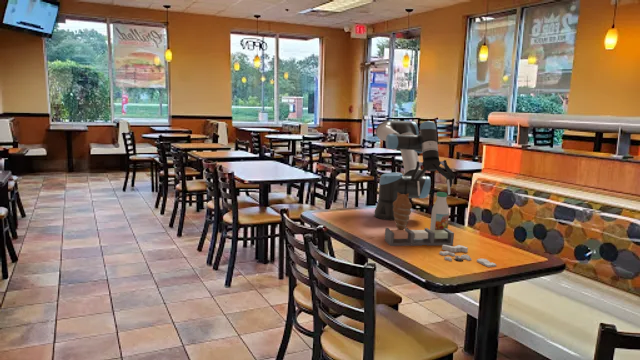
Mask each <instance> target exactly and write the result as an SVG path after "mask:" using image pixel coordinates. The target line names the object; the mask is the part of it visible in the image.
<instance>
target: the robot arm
mask: <svg viewBox="0 0 640 360" xmlns="http://www.w3.org/2000/svg"><path fill="white" fill-rule="evenodd" d="M375 135H376V136H377V138H378V139H379V140H381V141H384V142H385V147H386V149H387V150H388V149H389V150H392V151H393V150H400V154H401V158H402V164H403V168H404V169H403V170H404V173H402V172H396V171H395V172H386V173H383V174H381V175H380V176H379V182H378V184H379V187H378V201H377V204H376V207H375V209H374V212H373V213H374V214H373V215H374V217H375V218H376V219H377V218H378V219H380V220H385V221H386V220H387V221H395V217H394V211H393V207H394V206H393V202H394V201H395V200H396V199H397V197H398V195H397V193H400V194H405V195H406V194H408V193H409V196H408V198H409V199H426V198H427V197H428V196H429V194H430V191H431V185H432V184H431V183H432V181H431V177H430V176H429V175H426V172H436V171H437V172H438V173H440V174H441V175H442V176H443V178H445V179H446V187H447V196H448V195H451V188H452V187H453V182H452V181H453V180H455V178H456V176H455V174H454V172H453V171H452V169H451V168H450V167H449V165H448V163H447V160H446V159H444V160H442V161H440V157H439V146H438V136H437V135H438V134H437V125H436V123H435V122H434V121H430V120H427V121H423V122H421V123H420V124H419V127H418V124H417V123H416V122H415V121H411V120H389V119H388V120H385V121H382V122H380V123H379V124H378V125H377V126H376V128H375ZM418 154H422V162H420V161H419V155H418ZM421 166H422V167H423V168H422V169H421ZM441 166H443V167H444V169H445V170H444V169H443V168H442V167H441Z"/></svg>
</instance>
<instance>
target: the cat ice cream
mask: <svg viewBox="0 0 640 360" xmlns="http://www.w3.org/2000/svg"><path fill="white" fill-rule="evenodd" d="M397 195H398V197H397V199H396V200H395V201H394V202H393V206H394V207H393V211H394V217H395V220H394V222H395V228H396V230H405V228H407V225H408V224H409V223H408V222H409V220H410V215H411V214H412V210H411V209H412V208H413V205H412V202H410V198H408V196H409V193H408V194H406V195H405V194H400V193H397Z"/></svg>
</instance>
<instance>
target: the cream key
mask: <svg viewBox="0 0 640 360" xmlns="http://www.w3.org/2000/svg"><path fill="white" fill-rule="evenodd" d="M410 230H411V231H412V232H413V233H414V239H428V233H427V232H426V231H425V229H410Z"/></svg>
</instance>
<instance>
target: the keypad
mask: <svg viewBox="0 0 640 360" xmlns="http://www.w3.org/2000/svg"><path fill="white" fill-rule="evenodd" d="M384 229H385V231H384V241H385V243H387V244H388V245H389V247H396V246H398V247H402V246H406V247H408V246H410V247H411V246H413V247H415V246H420V247H421V246H422V245H427V247H428V246H442V245H448V246H454V239H455V232H454V231H452V230H450V228H448V229H447V228H444V231H446V232H447V233H448V238H443V239H434V232H432V231H431V230H430V228H428V227H424V230H425V231H426V232H427V233H428V239H414V233H413V232H412V231H411V230H412V229H410V228H408V227H406V228H405V229H404V230H405V231H406V232H407V233H408V239H394V233H393V232H392V231H391V230H392V229H390V228H388V227H385V228H384Z"/></svg>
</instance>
